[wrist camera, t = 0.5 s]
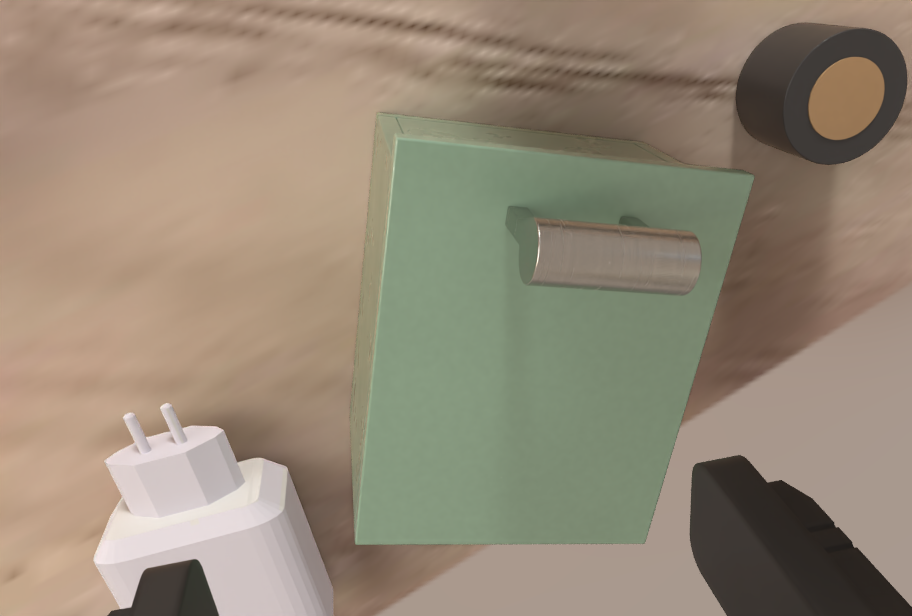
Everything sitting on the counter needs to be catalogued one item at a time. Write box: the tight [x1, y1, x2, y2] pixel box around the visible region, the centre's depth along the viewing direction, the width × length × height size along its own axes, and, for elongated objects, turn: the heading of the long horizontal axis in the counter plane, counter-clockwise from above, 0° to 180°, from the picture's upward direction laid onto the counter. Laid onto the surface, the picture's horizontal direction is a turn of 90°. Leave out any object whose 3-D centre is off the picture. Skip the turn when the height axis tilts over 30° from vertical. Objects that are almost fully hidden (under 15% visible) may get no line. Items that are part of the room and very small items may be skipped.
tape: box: [736, 23, 907, 165], centre depth 32 cm, size 6×6×4 cm
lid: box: [354, 133, 755, 545], centre depth 26 cm, size 16×13×5 cm
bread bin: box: [350, 112, 683, 529], centre depth 32 cm, size 16×13×9 cm
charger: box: [94, 403, 333, 616], centre depth 37 cm, size 5×9×15 cm
